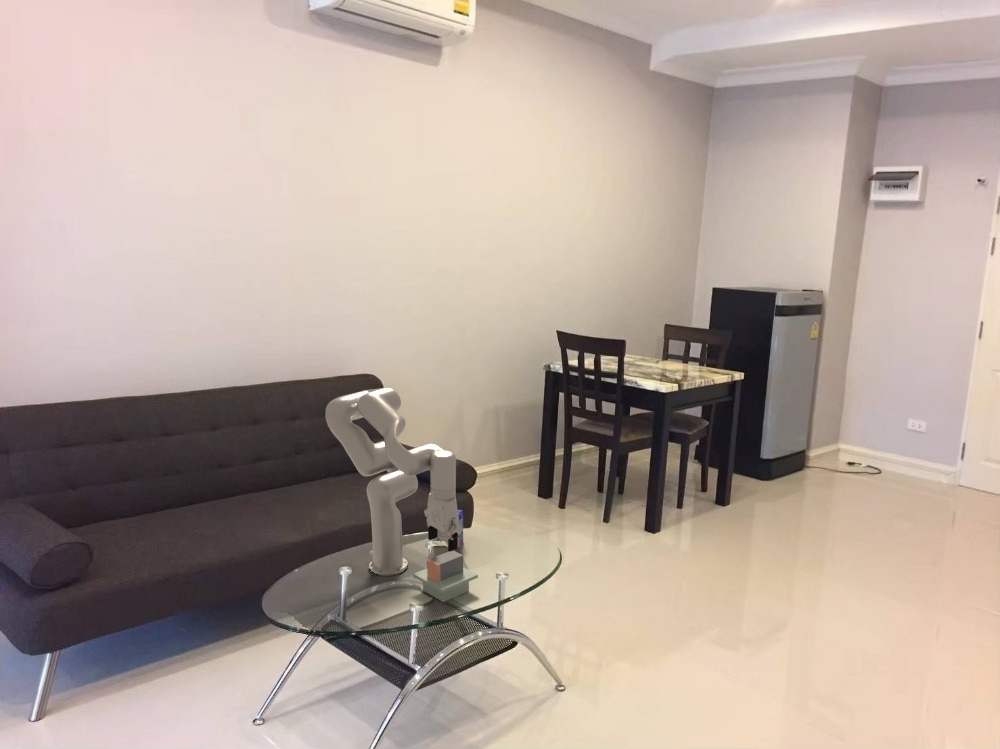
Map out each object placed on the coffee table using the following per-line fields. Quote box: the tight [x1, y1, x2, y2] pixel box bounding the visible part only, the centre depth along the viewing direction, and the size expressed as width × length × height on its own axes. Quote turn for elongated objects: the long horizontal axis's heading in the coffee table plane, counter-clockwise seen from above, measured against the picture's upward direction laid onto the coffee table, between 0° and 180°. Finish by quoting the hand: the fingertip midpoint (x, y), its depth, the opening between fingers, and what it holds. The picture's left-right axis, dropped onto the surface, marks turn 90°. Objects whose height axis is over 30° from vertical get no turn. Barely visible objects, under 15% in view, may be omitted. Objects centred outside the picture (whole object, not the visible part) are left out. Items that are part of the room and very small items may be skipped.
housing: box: [426, 550, 464, 582], centre depth 245 cm, size 10×5×6 cm, turn 132°
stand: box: [413, 566, 479, 603], centre depth 246 cm, size 14×14×6 cm
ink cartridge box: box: [432, 509, 464, 549], centre depth 277 cm, size 10×6×14 cm, turn 78°
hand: (442, 544), depth 244 cm, fingers open, 9 cm apart
